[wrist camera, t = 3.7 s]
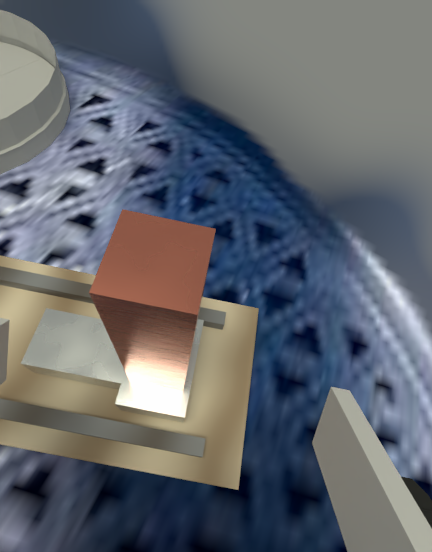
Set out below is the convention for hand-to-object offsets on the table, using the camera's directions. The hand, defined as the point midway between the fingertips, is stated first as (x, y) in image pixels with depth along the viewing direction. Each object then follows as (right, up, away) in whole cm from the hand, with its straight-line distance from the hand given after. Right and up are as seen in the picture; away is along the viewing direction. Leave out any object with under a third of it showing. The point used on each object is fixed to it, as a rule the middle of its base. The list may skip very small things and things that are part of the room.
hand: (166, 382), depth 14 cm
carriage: (-4, -1, +9) cm, 10 cm away
